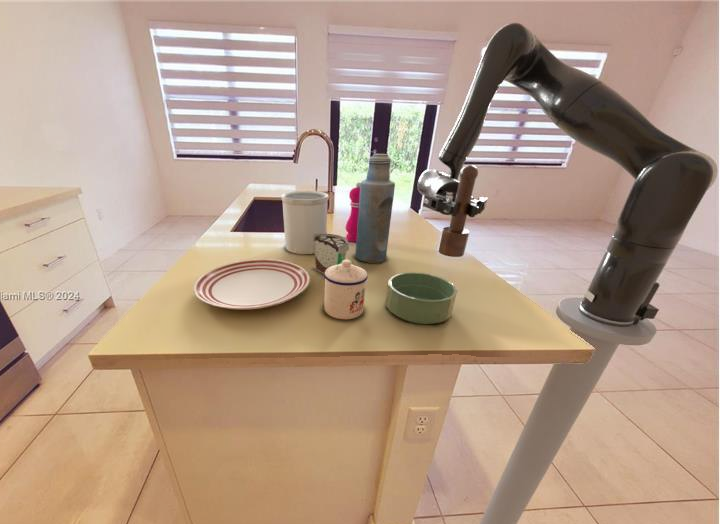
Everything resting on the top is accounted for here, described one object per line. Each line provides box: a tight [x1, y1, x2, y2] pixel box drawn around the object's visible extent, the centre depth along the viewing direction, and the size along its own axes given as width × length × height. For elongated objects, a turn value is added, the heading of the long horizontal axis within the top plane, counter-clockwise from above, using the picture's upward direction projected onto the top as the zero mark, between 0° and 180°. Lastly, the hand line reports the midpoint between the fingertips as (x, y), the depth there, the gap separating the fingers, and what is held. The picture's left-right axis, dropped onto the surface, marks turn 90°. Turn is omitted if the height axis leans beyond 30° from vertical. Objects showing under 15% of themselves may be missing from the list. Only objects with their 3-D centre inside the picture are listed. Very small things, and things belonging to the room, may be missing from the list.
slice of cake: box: [313, 233, 350, 275], centre depth 86 cm, size 12×6×10 cm, turn 35°
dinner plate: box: [193, 258, 311, 310], centre depth 77 cm, size 27×27×3 cm
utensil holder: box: [281, 190, 330, 255], centre depth 102 cm, size 15×15×18 cm
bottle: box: [355, 153, 396, 264], centre depth 92 cm, size 10×10×30 cm
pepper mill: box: [345, 182, 361, 243], centre depth 111 cm, size 7×7×20 cm
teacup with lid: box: [323, 259, 368, 320], centre depth 68 cm, size 12×9×12 cm
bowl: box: [385, 272, 458, 325], centre depth 69 cm, size 14×14×6 cm
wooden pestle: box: [438, 164, 479, 258], centre depth 64 cm, size 5×5×18 cm
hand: (464, 211), depth 61 cm, fingers closed on wooden pestle, 3 cm apart
